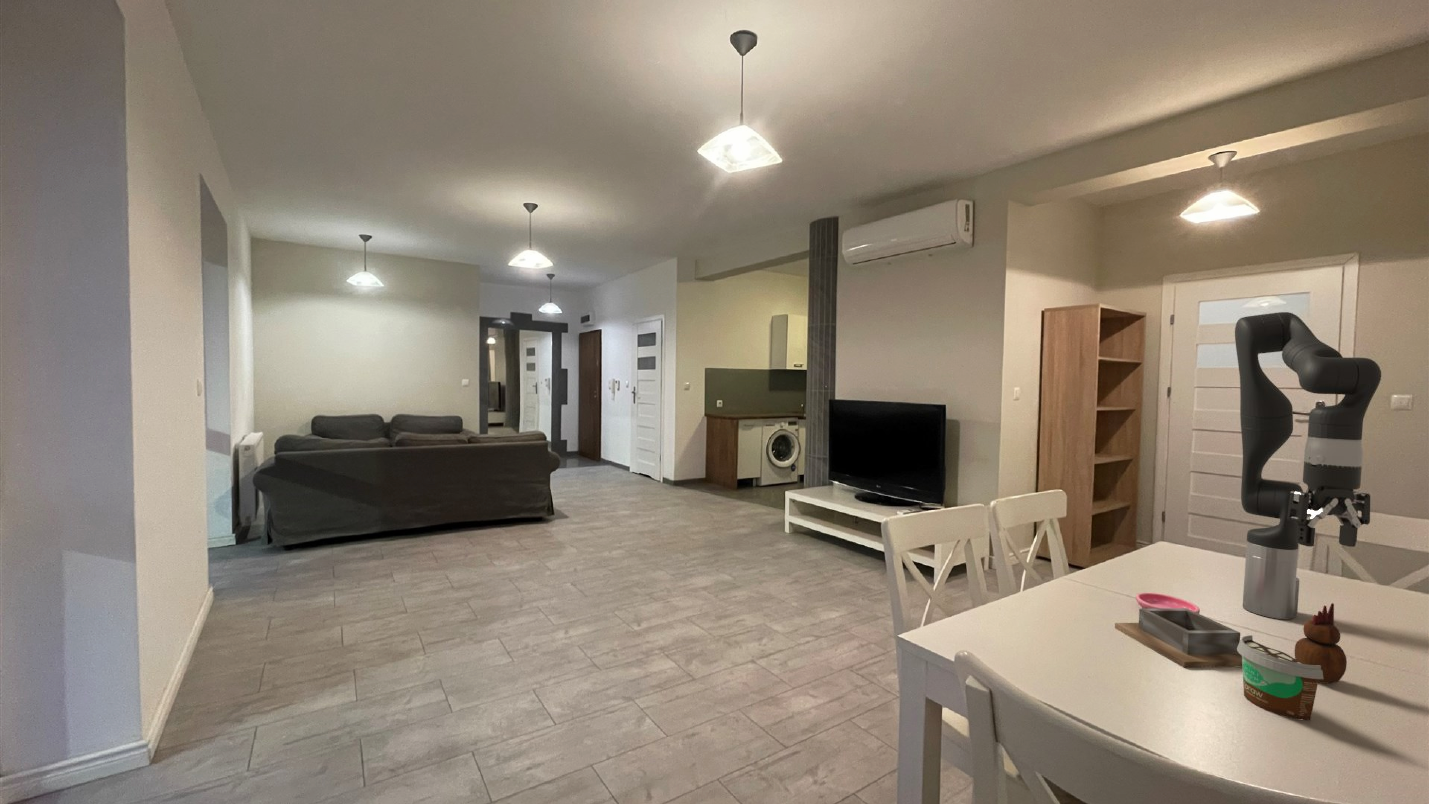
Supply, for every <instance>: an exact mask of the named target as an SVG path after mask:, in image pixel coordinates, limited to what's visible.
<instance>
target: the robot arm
mask: <svg viewBox="0 0 1429 804" xmlns="http://www.w3.org/2000/svg"><path fill="white" fill-rule="evenodd" d="M1234 327H1235V328H1234V339H1235V340H1234V341H1235V348H1236V349H1235V350H1236V359H1237V364H1238V365H1237V366H1238V373H1239V389H1240V390H1239V391H1240V392H1239V393H1240V397H1239V398H1240V409H1239V410H1240V412H1239V413H1240V414H1239V415H1240V416H1239V417H1240V431H1241V444H1242V448H1241V449H1242V467H1241V468H1242V469H1241V471H1242V472H1241V486H1240V487H1241V489H1240V490H1241V491H1240V500H1241V501H1240V502H1241V507H1242V509H1243V510H1244V511H1245V512H1246V513H1247V514H1250V515H1255V516H1260V517H1266V518H1272V519H1279V523H1278V524H1277V525H1274V526H1270V527H1261V528H1259V527H1258V528H1252V529H1248V531H1247V534H1246V548H1245V549H1246V550H1245V563H1244V564H1245V565H1244V578H1243V579H1244V580H1243V591H1242V592H1243V594H1242V609H1244V610H1246V611H1248V612H1250V613H1253V614H1256V615H1260V616H1263V617H1266V618H1267V617H1268V618H1273V619H1279V620H1292V619H1294V618H1295V617H1298V610H1299V607H1298V606H1299V593H1300V579H1299V578H1298V577H1297V570H1298V569H1297V568H1298V558H1299V557H1298V555H1299V545H1301V546H1306V547H1309V548H1310V547H1311V548H1312V547H1314V546H1315V536H1316V528H1315V526H1316V525H1317V523H1318V522H1319V521H1320V520H1323V519H1325V518H1326V516H1334V517H1336V518H1337V520H1338V522H1339V523H1340V525H1339V532H1338V533H1339V537H1338V543H1339V544H1340V545H1342V546H1346V547H1348V548H1349V547H1350V548H1352V547H1356V543H1357V540H1358V529H1359V528H1361V527H1362V525H1363V526H1364V525H1367V526H1368V525H1369V524H1370V522H1371V495H1370V493H1366V492H1360V491H1355V490H1359V489H1360V488H1361V484H1362V470H1363V466H1362V465H1363V457H1364V455H1363V443H1362V442H1363V441H1362V438H1363V427H1364V426H1363V425H1364V418H1365V415H1366V413H1367V411H1368V408H1369V407H1370V403H1371V401H1372V399H1373V397H1374V395H1375V393H1376V391H1377V389H1378V388H1379V385H1380V383H1381V380H1382V370H1381V367H1380V365H1378V363H1377V362H1376V361H1375V360H1373V359H1371V358H1367V357H1343V356H1342V354H1341V353H1340V352H1339V351H1338V350H1336V349H1335V348H1333V347H1331V346H1330V345H1328V344H1327V343H1324V342H1323V341H1321V340H1320V339H1319V338H1317V337H1316V335H1315V334H1314V333H1313V331H1312V330H1311V329H1310V328H1309V326H1308V325H1307V324H1306V323H1305V322H1304V321H1303V320H1302V319H1301V318H1300V317H1299V316H1298V315H1297V314H1295V313H1293V312H1289V311H1288V312H1287V311H1280V312H1273V313H1263V314H1257V315H1248V316H1244V317H1240V318H1238V320H1237V321H1236V323H1235V326H1234ZM1277 352H1278V353H1279V352H1281V357H1282V358H1281V359H1282V360H1283V362H1284V364H1285V365H1286V367H1288V368H1289V369H1290V370H1292V371H1293V372H1294V373H1296V374H1297V378H1298V383H1299V386H1300V387H1301V388H1302V390H1304V391H1306V392H1309V393H1311V394H1315V395H1317V394H1318V395H1343V397H1342V400H1341V401H1339V402H1338V403H1337V404H1334V405H1328V406H1319V407H1315V408H1313V409H1311V410H1310V412H1309V415H1308V427H1307V438H1306V443H1305V447H1304V455H1303V456H1304V457H1303V468H1302V469H1303V471H1302V483H1304V484H1305V485H1306V486H1307V490H1306V492H1304V490H1303V487H1302V486H1301V485H1300V484H1298V483H1294V482H1287V481H1279V480H1273V479H1272V480H1271V479H1263V477H1262V474H1263V473H1262V472H1263V470H1264V467H1265V465H1266V464H1267V463H1268V461H1269V460H1270V459H1271V457H1272V456H1273V455H1274V454H1276V452H1278V450H1279V449H1280V448H1281V447H1282V446H1284V445H1285V443H1286V442H1287V441H1288V440H1289V438H1290V437H1291V436H1292V433H1293V431H1294V412H1293V411H1294V410H1293V404H1292V402H1291V400H1289V398H1288V397H1287V396H1286V395H1285V393H1284V392H1282V391H1281V390H1280V388H1278V386H1276V385H1275V383H1273V382H1272V380H1270V379H1269V377H1268V376H1267V375H1266V374H1265V372H1264V371H1263V369H1262V367H1261V364H1260V360H1259V354H1261V355H1262V354H1271V353H1277ZM1359 512H1360V514H1361V516H1359ZM1308 518H1309V519H1308Z"/></svg>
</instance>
